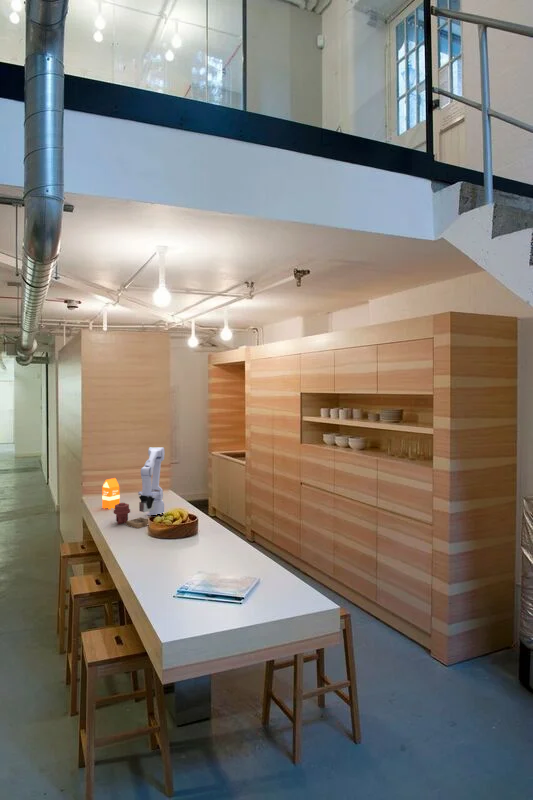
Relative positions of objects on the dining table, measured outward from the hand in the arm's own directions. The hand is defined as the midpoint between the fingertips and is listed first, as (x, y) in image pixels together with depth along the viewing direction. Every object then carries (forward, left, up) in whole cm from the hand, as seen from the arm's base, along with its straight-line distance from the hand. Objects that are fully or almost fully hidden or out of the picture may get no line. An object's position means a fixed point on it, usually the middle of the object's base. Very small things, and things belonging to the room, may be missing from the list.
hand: (147, 507), depth 326 cm
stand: (+7, +1, -9) cm, 11 cm away
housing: (0, 0, -2) cm, 2 cm away
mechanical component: (+11, -11, -9) cm, 18 cm away
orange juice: (-9, -50, -9) cm, 51 cm away
